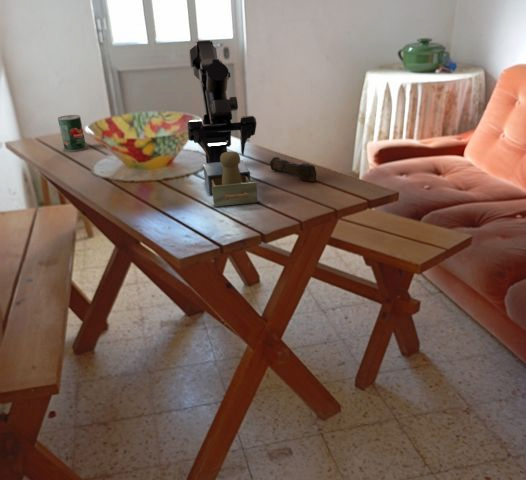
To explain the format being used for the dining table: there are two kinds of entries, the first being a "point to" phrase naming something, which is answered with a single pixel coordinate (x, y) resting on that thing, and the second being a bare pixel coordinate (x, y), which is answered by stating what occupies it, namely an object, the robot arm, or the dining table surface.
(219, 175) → the cabinet
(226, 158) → the pawn game piece
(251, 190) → the drawer
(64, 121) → the canned tomato
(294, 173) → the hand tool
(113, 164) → the dining table surface
